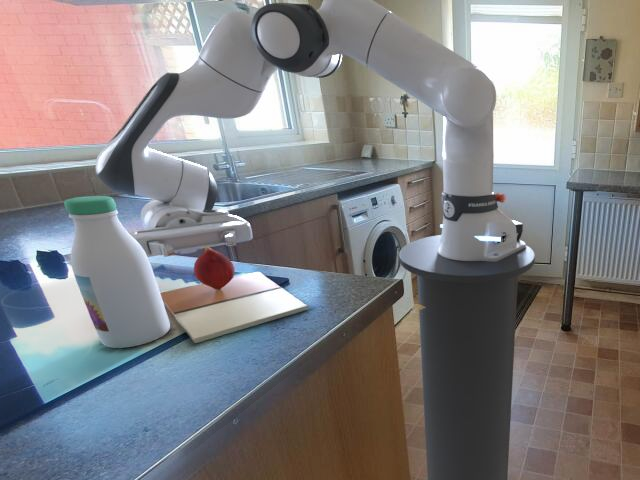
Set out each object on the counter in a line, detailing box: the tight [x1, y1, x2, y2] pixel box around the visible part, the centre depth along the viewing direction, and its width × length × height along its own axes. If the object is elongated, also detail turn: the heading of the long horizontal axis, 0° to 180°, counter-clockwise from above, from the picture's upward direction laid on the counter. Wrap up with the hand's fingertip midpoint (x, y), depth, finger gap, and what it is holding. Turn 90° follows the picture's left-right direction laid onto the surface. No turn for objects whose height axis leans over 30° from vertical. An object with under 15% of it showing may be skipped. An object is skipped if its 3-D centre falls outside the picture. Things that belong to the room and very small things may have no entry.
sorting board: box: [160, 271, 309, 344], centre depth 70 cm, size 16×22×1 cm
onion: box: [193, 247, 236, 290], centre depth 72 cm, size 6×6×8 cm
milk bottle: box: [63, 195, 171, 349], centre depth 56 cm, size 8×8×20 cm
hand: (201, 246), depth 74 cm, fingers open, 8 cm apart
